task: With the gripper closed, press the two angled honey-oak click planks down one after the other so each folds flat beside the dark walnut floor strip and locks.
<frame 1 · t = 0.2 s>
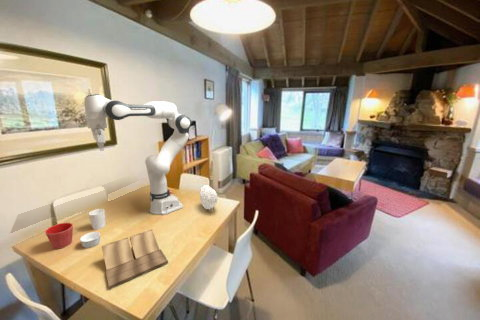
hand: (100, 149, 119), 48 cm above the table, fingers open, 8 cm apart
floor strip: (138, 268, 95), on the table
white lumpy rounded piece: (208, 209, 152), on the table
plank b: (117, 253, 99), point 4 cm above the table, hinge at 32.0°
flower pot: (62, 244, 110), on the table
plank a: (144, 243, 106), point 4 cm above the table, hinge at 32.0°
ramekin: (91, 243, 112), on the table
white cup: (99, 227, 127), on the table
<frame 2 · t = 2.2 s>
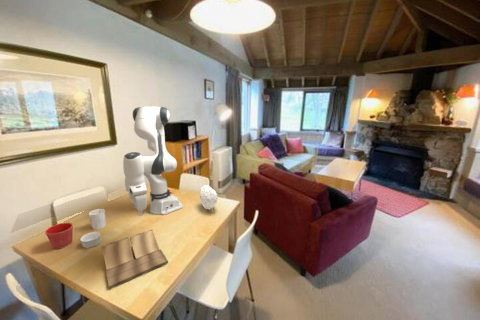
hand: (138, 211, 105), 20 cm above the table, fingers open, 8 cm apart
nothing on the table moved.
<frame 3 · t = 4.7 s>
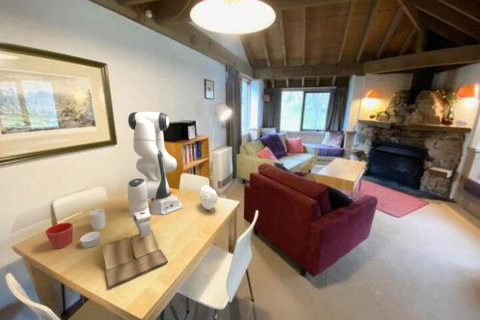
hand: (141, 235, 108), 7 cm above the table, fingers closed
plank a: (144, 244, 107), point 4 cm above the table, hinge at 28.1°, touching gripper
everything else where it was.
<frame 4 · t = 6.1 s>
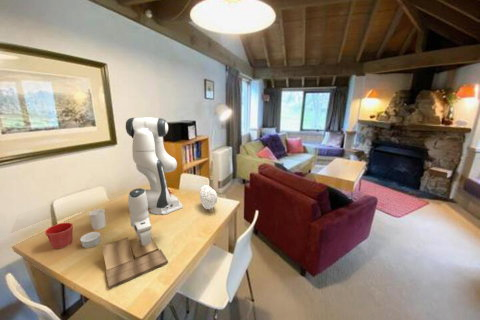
hand: (142, 243, 110), 2 cm above the table, fingers closed on plank a, 2 cm apart
plank a: (144, 247, 108), point 1 cm above the table, hinge at 0.2°, touching gripper
everything else where it was.
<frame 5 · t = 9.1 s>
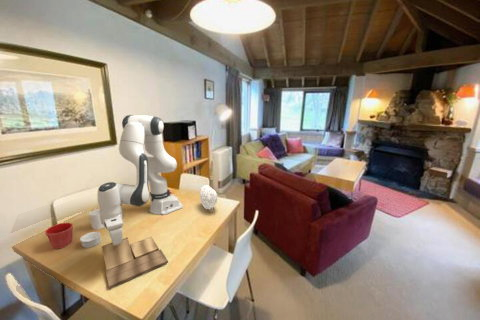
hand: (115, 242, 101), 8 cm above the table, fingers closed
plank b: (117, 253, 99), point 4 cm above the table, hinge at 31.6°, touching gripper
plank a: (144, 247, 108), point 1 cm above the table, hinge at 0.2°
everything else where it was.
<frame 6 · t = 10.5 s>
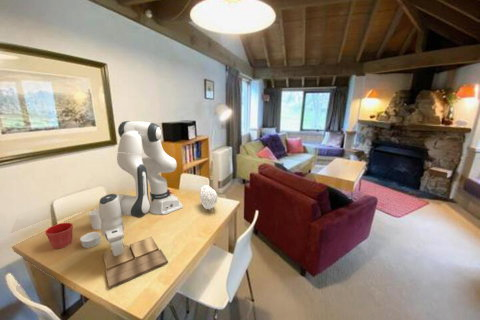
hand: (116, 252, 103), 2 cm above the table, fingers closed on plank b, 3 cm apart
plank b: (118, 257, 101), point 1 cm above the table, hinge at 0.5°, touching gripper
everything else where it was.
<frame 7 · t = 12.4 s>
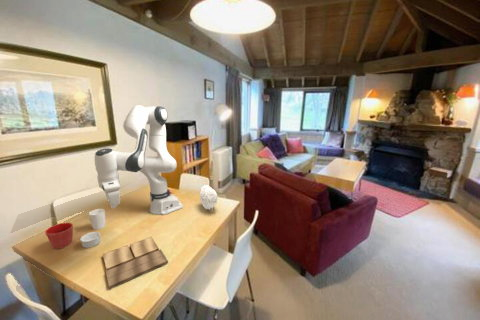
hand: (113, 206, 107), 22 cm above the table, fingers closed
plank b: (118, 257, 101), point 1 cm above the table, hinge at 0.4°
everything else where it was.
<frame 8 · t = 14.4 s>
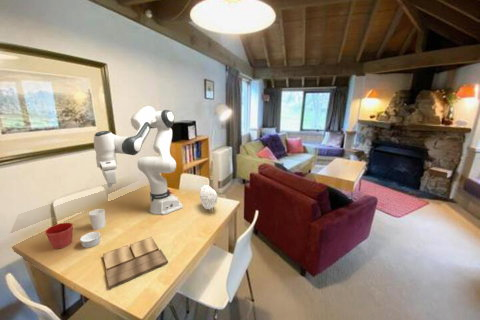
hand: (110, 187, 112), 29 cm above the table, fingers closed
nothing on the table moved.
at the end: plank a at +0° (first picture: +32°); plank b at +0° (first picture: +32°) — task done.
